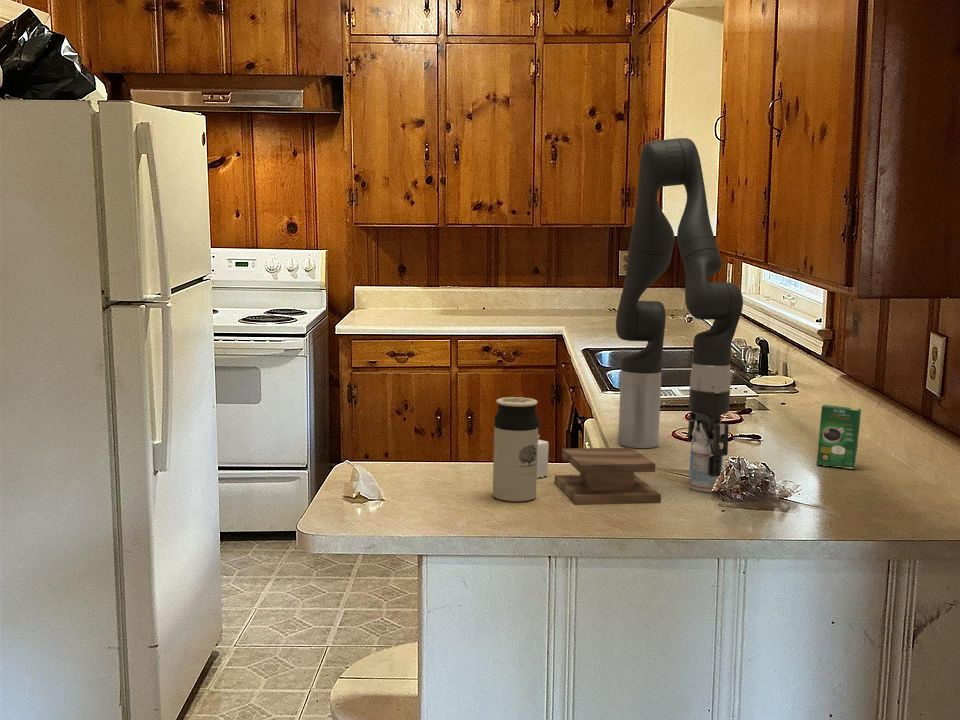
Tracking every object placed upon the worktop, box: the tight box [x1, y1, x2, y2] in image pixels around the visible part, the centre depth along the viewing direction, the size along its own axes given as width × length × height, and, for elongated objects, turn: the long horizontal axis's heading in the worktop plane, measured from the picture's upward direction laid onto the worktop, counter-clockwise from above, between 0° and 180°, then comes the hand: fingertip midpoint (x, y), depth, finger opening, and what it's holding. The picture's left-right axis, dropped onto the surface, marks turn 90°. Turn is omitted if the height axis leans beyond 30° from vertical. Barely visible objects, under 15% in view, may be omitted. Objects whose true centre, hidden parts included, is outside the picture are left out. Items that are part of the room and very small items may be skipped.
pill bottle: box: [688, 430, 724, 493], centre depth 199 cm, size 6×6×11 cm
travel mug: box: [492, 396, 539, 503], centre depth 189 cm, size 8×8×18 cm
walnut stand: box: [554, 447, 662, 505], centre depth 195 cm, size 16×16×7 cm
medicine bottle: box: [537, 418, 549, 479], centre depth 206 cm, size 7×7×12 cm
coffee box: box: [816, 404, 862, 469], centre depth 221 cm, size 8×3×13 cm, turn 63°
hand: (705, 470), depth 199 cm, fingers open, 8 cm apart
